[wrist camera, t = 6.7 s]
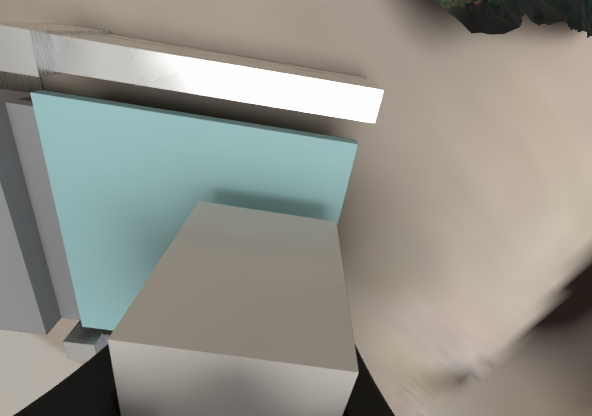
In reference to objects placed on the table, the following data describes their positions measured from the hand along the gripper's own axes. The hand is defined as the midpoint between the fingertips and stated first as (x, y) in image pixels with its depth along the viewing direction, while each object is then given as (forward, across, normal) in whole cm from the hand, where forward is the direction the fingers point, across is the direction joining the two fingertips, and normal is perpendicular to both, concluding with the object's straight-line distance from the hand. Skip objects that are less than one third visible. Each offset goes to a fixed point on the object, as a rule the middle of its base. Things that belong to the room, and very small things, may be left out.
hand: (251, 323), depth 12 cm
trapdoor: (+5, +6, 0) cm, 8 cm away
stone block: (+2, 0, 0) cm, 2 cm away
